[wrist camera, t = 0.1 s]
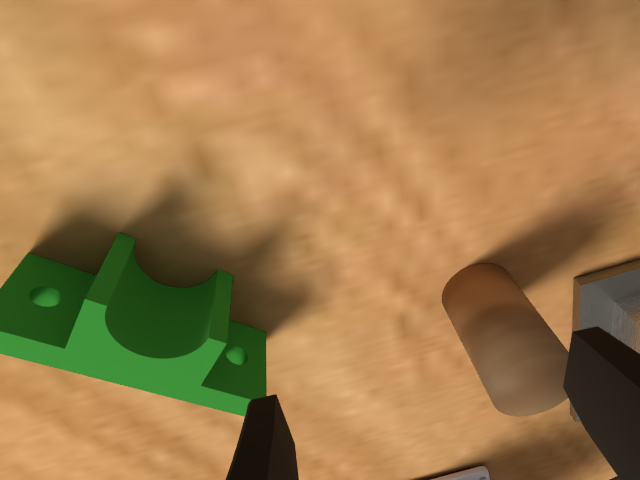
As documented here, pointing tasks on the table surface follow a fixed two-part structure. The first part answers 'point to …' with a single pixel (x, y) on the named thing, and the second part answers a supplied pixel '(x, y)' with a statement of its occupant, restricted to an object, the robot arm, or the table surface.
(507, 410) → the cylinder
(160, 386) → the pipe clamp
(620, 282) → the mount
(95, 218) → the table surface
